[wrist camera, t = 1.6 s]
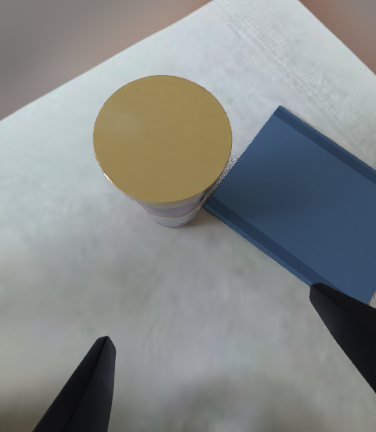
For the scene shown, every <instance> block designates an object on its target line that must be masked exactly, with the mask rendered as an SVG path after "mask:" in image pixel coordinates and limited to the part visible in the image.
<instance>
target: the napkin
mask: <svg viewBox="0 0 376 432" xmlns="http://www.w3.org/2000/svg"><path fill="white" fill-rule="evenodd" d="M203 207H204V208H205V209H206V210H208V211H209V212H211V213H212V214H213V215H215V216H216V217H217V218H219V219H220V220H221V221H223V222H224V223H225V224H227V225H228V226H229V227H231V228H232V229H233V230H235V231H236V232H237V233H239V234H240V235H242V236H243V237H244V238H246V239H247V240H248V241H250V242H251V243H252V244H254V245H255V246H256V247H258V248H259V249H260V250H262V251H263V252H264V253H266V254H267V255H268V256H270V257H271V258H272V259H274V260H275V261H277V262H278V263H279V264H281V265H282V266H283V267H285V268H286V269H287V270H289V271H290V272H291V273H293V274H294V275H295V276H297V277H298V278H299V279H301V280H302V281H303V282H305V283H306V284H308V285H309V286H311V285H312V284H314V283H318V282H321V283H324V284H326V285H328V286H330V287H332V288H334V289H336V290H338V291H340V292H343V293H345V294H347V295H349V296H351V297H353V298H355V299H357V300H359V301H361V302H363V303H365V304H368V302H369V300H370V298H371V297H372V295H373V293H374V291H375V289H376V170H374V169H373V168H372V167H370V166H369V165H367V164H366V163H364V162H363V161H361V160H360V159H358V158H357V157H355V156H354V155H352V154H351V153H349V152H348V151H346V150H345V149H344V148H342V147H341V146H339V145H338V144H336V143H335V142H333V141H332V140H330V139H329V138H327V137H326V136H324V135H323V134H321V133H320V132H318V131H317V130H316V129H314V128H313V127H311V126H310V125H308V124H307V123H305V122H304V121H302V120H301V119H299V118H298V117H296V116H295V115H293V114H292V113H290V112H289V111H287V110H286V109H285V108H283V107H282V106H280V105H279V107H278V108H277V109H276V111H275V112H274V113H273V115H272V116H271V117H270V119H269V120H268V121H267V123H266V124H265V125H264V127H263V128H262V129H261V131H260V132H259V133H258V134H257V136H256V137H255V138H254V140H253V141H252V142H251V144H250V145H249V146H248V148H247V149H246V150H245V152H244V153H243V154H242V156H241V157H240V158H239V160H238V161H237V162H236V163H235V165H234V166H233V167H232V169H231V170H230V171H229V173H228V174H227V175H226V177H225V178H224V179H223V181H222V182H221V183H220V185H219V186H218V187H217V188H216V190H215V191H214V192H213V194H212V195H211V196H210V198H209V199H208V200H207V202H206V203H205V204H204V206H203Z"/></svg>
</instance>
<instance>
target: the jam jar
mask: <svg viewBox="0 0 376 432" xmlns="http://www.w3.org/2000/svg"><path fill="white" fill-rule="evenodd" d="M93 147H94V153H95V156H96V160H97V162H98V164H99V166H100V168H101V170H102V171H103V173H104V175H105V176H106V177H107V178H108V179H109V181H110V182H111V183H112V184H113V185H114V186H115V187H116V188H117V189H119V190H120V191H121V192H122V193H123V194H124V195H125V196H127V197H128V198H130V199H131V200H133V201H135V202H136V203H137V204H138V205H139V206H140V207H141V208H142V209H143V211H144V212H145V213H146V214H147V215H148V216H150V217H151V218H152V219H153V220H154V221H155V222H156V223H158V224H159V225H161V226H164V227H168V228H178V227H182V226H184V225H186V224H188V223H189V222H191V221H192V220H193V219H194V218H195V216H196V215H197V213H198V211H199V210H200V208H201V206H202V204H203V202H204V200H205V198H206V196H207V194H208V192H209V191H210V190H211V189H212V188H213V186H214V185H215V184H216V182H217V181H218V179H219V178H220V176H221V174H222V173H223V171H224V169H225V167H226V165H227V163H228V160H229V157H230V154H231V148H232V132H231V126H230V122H229V119H228V117H227V114H226V112H225V111H224V109H223V107H222V105H221V104H220V103H219V102H218V100H217V99H216V98H215V97H214V96H213V95H212V94H211V93H210V92H209V91H207V90H206V89H205V88H203V87H202V86H200V85H198V84H196V83H194V82H192V81H190V80H187V79H184V78H181V77H176V76H168V75H155V76H148V77H144V78H140V79H137V80H135V81H132V82H130V83H128V84H126V85H124V86H123V87H121V88H120V89H118V90H117V91H116V92H115V93H114V94H113V95H111V96H110V97H109V99H108V100H107V101H106V102H105V103H104V105H103V107H102V108H101V110H100V112H99V114H98V116H97V118H96V122H95V125H94V131H93Z"/></svg>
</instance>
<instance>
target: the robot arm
mask: <svg viewBox="0 0 376 432" xmlns="http://www.w3.org/2000/svg"><path fill="white" fill-rule="evenodd" d="M309 298H310V301H311V303H312V305H313V306H314V308H315V310H316V311H317V313H318V314H319V316H320V317H321V319H322V321H323V322H324V324H325V325H326V327H327V328H328V330H329V332H330V333H331V335H332V336H333V338H334V339H335V340H336V342H337V343H338V344H339V346H340V347H341V348H342V350H343V351H344V352H345V354H346V355H347V356H348V358H349V359H350V360H351V361H352V363H353V364H354V365H355V367H356V368H357V369H358V371H359V372H360V373H361V375H362V376H363V377H364V378H365V380H366V381H367V382H368V384H369V385H370V386H371V388H372V389H373V390H374V392H375V393H376V308H373V307H371V306H369V305H367V304H365V303H363V302H361V301H359V300H357V299H355V298H353V297H351V296H349V295H347V294H345V293H343V292H340V291H338V290H336V289H334V288H332V287H330V286H328V285H326V284H324V283H321V282H318V283H314V284H312V285H311V286H310V295H309ZM115 359H116V349H115V346H114V344H113V342H112V341H111V339H110V337H109V336H104V337H100V338H98V339H97V340H96V341H95V343H94V344H93V346H92V347H91V349H90V350H89V351H88V353H87V354H86V356H85V357H84V359H83V360H82V361H81V363H80V364H79V366H78V367H77V369H76V370H75V371H74V373H73V374H72V376H71V377H70V378H69V380H68V381H67V383H66V384H65V386H64V387H63V388H62V390H61V391H60V393H59V394H58V396H57V397H56V398H55V400H54V401H53V403H52V404H51V406H50V407H49V408H48V410H47V411H46V413H45V414H44V416H43V417H42V418H41V420H40V421H39V423H38V424H37V426H36V427H35V428H34V430H33V431H32V432H108V425H109V419H110V412H111V406H112V399H113V389H114V374H115Z"/></svg>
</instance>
